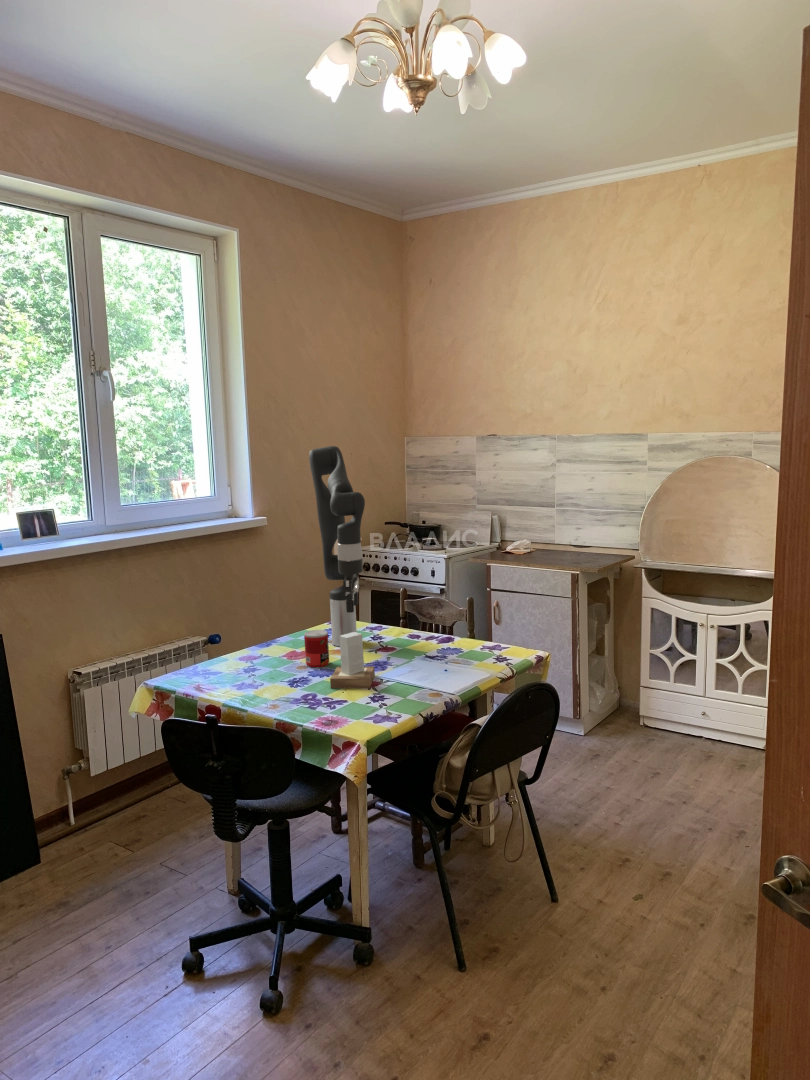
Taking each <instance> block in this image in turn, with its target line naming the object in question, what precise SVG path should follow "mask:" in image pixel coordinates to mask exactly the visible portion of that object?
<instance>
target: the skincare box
mask: <svg viewBox="0 0 810 1080" xmlns="http://www.w3.org/2000/svg"><path fill="white" fill-rule="evenodd" d="M363 642H364V641H363V633H360V632H352V633H348V634H344V635H341V636H340V646H339V648H340V651H339V652H340V663H341V664H340V665H341V666H340V667H341V668H342V673H344V674H347V675H352V674H355V673H358V672H361V671H364V666H365V660H364V643H363Z"/></svg>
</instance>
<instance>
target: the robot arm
mask: <svg viewBox="0 0 810 1080" xmlns="http://www.w3.org/2000/svg"><path fill="white" fill-rule="evenodd" d="M308 461H309V468H310V472H311V477H312V482H313V488H314V493H315V499H316V500H315V502H316V511H317V519H318V525H319V530H320V538H321V544H322V545H321V546H322V559H323V571H324V576H325V578H326V579H327V580H328V581H342V583H343V584H342V585H341V586H338V587H336V588H333V589H331V590H330V592H329V607H330V609H329V610H330V625H331V644H332V646H334V645H335V647H340V636H341V635H344V634H348V633H352V632H357V630H358V629H357V614H356V613H357V612H356V607H357V606H358V605H359V591H360V580H359V574H361V573H363V572H364V571H363V570H364V567H363V566H364V564H363V549H362V543H361V542H362V538H361V528H362V527H361V525H362V519H363V514H364V511H365V506H366V501H365V499H366V498H365V497H364V495H363V494H362V493H361V492H359V491H354V490H353V489H354V488H353V486H352V484H351V483H350V480H349V477H348V473H347V468H346V465H345V461H344V457H343V453H342V451H341V449H340V448H339V447H338V446H336V445H335V446H334V445H332V446H331V445H330V446H325V447H319V448H313V449H311V450H310V451H309V454H308ZM326 475H329V477H328V479H327V485H326V483H325V481H324V480H323V478H322V477H323V476H326ZM347 516H349V517H351V516H352V517H351V519H349V521H347V522H346V519H345V517H347ZM336 542H337V554H334V553H333V549H334V547H335V544H336ZM357 633H358V632H357Z"/></svg>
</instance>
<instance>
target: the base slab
mask: <svg viewBox="0 0 810 1080" xmlns="http://www.w3.org/2000/svg"><path fill="white" fill-rule="evenodd" d="M375 675H376V673H375V666H374V665H373V666H372V665H368V666H367V665H366V666H365V665H364V671H361V672H358V673H355V674H352V675H347V674H344V673H342V668H341V666H336V668H335V670H334V672H333V674H332V675H331V677H330V678H329V680H330V681H329V682H330V689H370V688H371V686H372V683H373V681H374V677H375Z"/></svg>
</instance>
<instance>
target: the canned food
mask: <svg viewBox="0 0 810 1080" xmlns="http://www.w3.org/2000/svg"><path fill="white" fill-rule="evenodd" d="M303 636H304V637H303V638H304V652H305V653H304V654H305V656H304V657H305V664H306V666H307V667H308V666H309V668H313V667H314V668H315V669H316V667H319V668H325V667H326V666H328V665H329V663H330V652H329V651H330V650H329V648H330V647H329V634H328V631H327V630H322V629H315V630H313V629H312V630H308V631H305V632H304V635H303Z"/></svg>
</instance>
